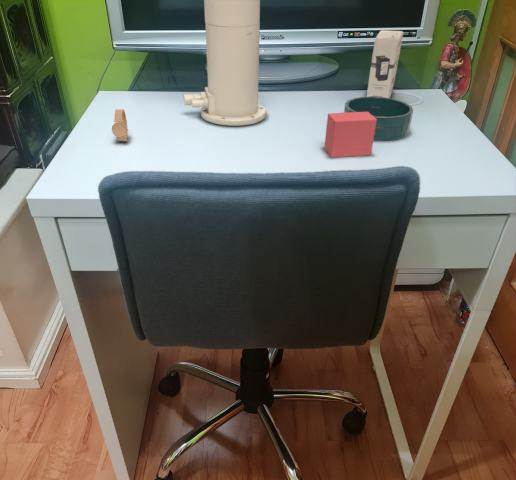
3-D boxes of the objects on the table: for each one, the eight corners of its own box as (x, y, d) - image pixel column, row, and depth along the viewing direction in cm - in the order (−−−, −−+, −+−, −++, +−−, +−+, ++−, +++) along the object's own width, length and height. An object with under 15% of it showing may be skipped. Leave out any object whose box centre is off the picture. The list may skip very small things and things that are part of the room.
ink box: (371, 89, 115) (380, 28, 107) (393, 91, 114) (404, 30, 106) (365, 99, 109) (374, 36, 101) (388, 102, 108) (400, 38, 100)
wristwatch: (114, 145, 86) (109, 114, 83) (117, 135, 90) (113, 105, 86) (130, 145, 86) (125, 114, 83) (133, 135, 90) (129, 105, 87)
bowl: (355, 142, 90) (358, 119, 87) (333, 119, 99) (336, 97, 96) (419, 139, 92) (424, 115, 89) (392, 116, 101) (396, 95, 98)
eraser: (331, 157, 84) (335, 121, 80) (324, 148, 87) (327, 113, 83) (370, 155, 86) (377, 119, 82) (362, 146, 88) (368, 111, 85)
